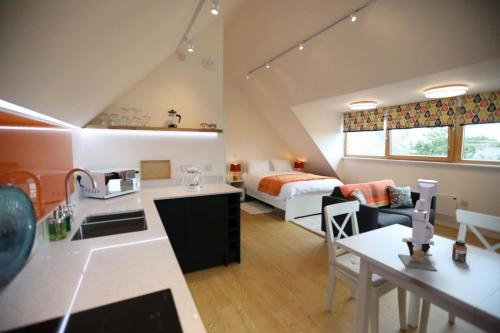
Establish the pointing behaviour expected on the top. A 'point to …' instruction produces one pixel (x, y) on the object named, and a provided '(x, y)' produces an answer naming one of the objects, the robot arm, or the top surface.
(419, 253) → the wooden cube
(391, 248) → the top surface
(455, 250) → the supplement bottle
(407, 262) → the charcoal mat
